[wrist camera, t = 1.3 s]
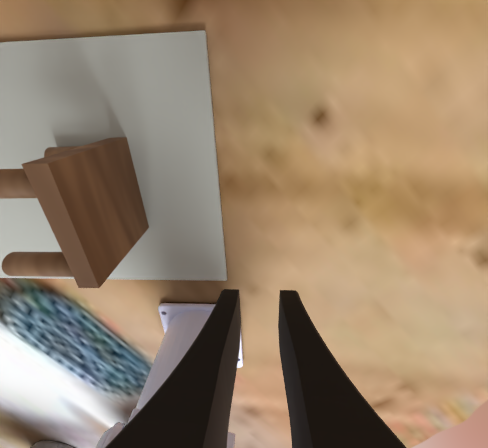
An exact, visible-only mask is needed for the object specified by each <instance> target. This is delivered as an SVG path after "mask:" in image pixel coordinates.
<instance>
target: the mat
mask: <svg viewBox="0 0 488 448" xmlns="http://www.w3.org/2000/svg"><path fill="white" fill-rule="evenodd" d="M117 137H127V141H128V145H129V149H130V153H131V157H132V161H133V165H134V169H135V173H136V177H137V181H138V185H139V189H140V193H141V197H142V201H143V205H144V209H145V213H146V217H147V221H148V225H149V228H148V230H147V231H146V232H145V233H144V234H143V236H142V237H141V238H140V239H139V240H138V242H137V243H136V244H135V245H134V246H133V248H132V249H131V250H130V251H129V253H128V254H127V255H126V256H125V257H124V259H123V260H122V261H121V262H120V263H119V265H118V266H117V267H116V268H115V269H114V271H113V272H112V273H111V274H110V276H109V277H108V278H107V279H134V280H210V281H227V268H226V256H225V245H224V233H223V222H222V210H221V199H220V187H219V175H218V164H217V152H216V141H215V129H214V118H213V106H212V95H211V83H210V72H209V60H208V48H207V37H206V31H205V30H203V31H186V32H169V33H152V34H135V35H118V36H100V37H83V38H66V39H49V40H32V41H15V42H0V169H23V167H22V165H21V164H23V163H27V162H30V161H33V160H37V159H40V158H43V157H44V152H45V150H46V149H47V148H48V147H71V146H84V145H87V144H90V143H94V142H97V141H100V140H104V139H107V138H117ZM11 252H62V250H61V248H60V246H59V244H58V242H57V240H56V238H55V235H54V233H53V231H52V229H51V227H50V225H49V223H48V220H47V218H46V216H45V214H44V212H43V210H42V207H41V205H40V203H39V201H38V199H37V198H12V199H0V278H57V279H75V278H74V277H43V276H8V275H6V274H5V273H4V272H3V270H2V261H3V259H4V258H5V256H6V255H8V254H9V253H11Z"/></svg>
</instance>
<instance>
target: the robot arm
mask: <svg viewBox="0 0 488 448" xmlns="http://www.w3.org/2000/svg"><path fill="white" fill-rule="evenodd" d="M158 310H159V314H160V317H161V321H162V324H163V328H164V332H165V335H164V338H163V340H162V343H161V345H160V348H159V350H158V353H157V355H156V358H155V360H154V363H153V365H152V368H151V370H150V373H149V375H148V378H147V381H146V383H145V386H144V388H143V391H142V393H141V396H140V398H139V401H138V403H137V406H136V408H134V409H133V411H132V413H131V416H130V418H129V421H128V423H127V425H126V426H125V424H123V423H119V422H118V423H116V424H115V425H114V426H113V427H111V428H110V429H108V430H107V431H105V432H104V434H103V435H102V437H101V438H100V440H99V442H98V444H97V446H96V448H234V445H235V434H234V433H231V432H228V427H229V417H230V409H231V402H232V396H233V389H234V383H235V377H236V370H237V368H240V367H242V366H243V353H242V337H241V315H240V298H239V290H228V289H224V290H223V291H222V292H221V294H220V297H219V299H218V301H217V303H216V304H181V303H161V304H160V305H159V307H158ZM164 311H165V312H164ZM278 328H279V346H280V356H281V363H282V370H283V376H284V383H285V390H286V396H287V403H288V410H289V417H290V425H291V436H292V448H406V447H405V446H404V444H403V443H402V442H401V441H400V440H399V439H398V438H397V436H396V435H395V434H394V433H393V432H392V431H391V430H390V428H389V427H388V426H387V425H386V424H385V423H384V422H383V420H382V419H381V418H380V417H379V416H378V415H377V413H376V412H375V411H374V410H373V409H372V407H371V406H370V405H369V404H368V402H367V401H366V400H365V399H364V397H363V396H362V395H361V394H360V392H359V391H358V390H357V388H356V387H355V386H354V384H353V383H352V382H351V381H350V379H349V378H348V377H347V375H346V374H345V372H344V371H343V370H342V368H341V367H340V365H339V364H338V362H337V361H336V360H335V358H334V357H333V355H332V354H331V352H330V351H329V349H328V347H327V346H326V344H325V343H324V341H323V340H322V338H321V336H320V335H319V333H318V331H317V330H316V328H315V326H314V324H313V323H312V321H311V319H310V317H309V315H308V314H307V312H306V310H305V308H304V306H303V304H302V301H301V299H300V297H299V294H298V293H297V292H296V291H292V290H280V301H279V323H278ZM124 426H125V427H124Z"/></svg>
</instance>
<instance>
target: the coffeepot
mask: <svg viewBox="0 0 488 448" xmlns="http://www.w3.org/2000/svg"><path fill="white" fill-rule="evenodd" d="M30 448H74V447H72V446H70V445H67V444H64V443H61V442H56V441H46V440H45V441H38V442H36V443H35V444H34V445H33V446H32V447H30Z"/></svg>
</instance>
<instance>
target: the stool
mask: <svg viewBox="0 0 488 448" xmlns="http://www.w3.org/2000/svg"><path fill="white" fill-rule="evenodd" d="M21 165H22V167H23V169H0V199H12V198H37V199H38V201H39V203H40V205H41V207H42V210H43V212H44V214H45V216H46V218H47V220H48V223H49V225H50V227H51V229H52V231H53V233H54V235H55V238H56V240H57V242H58V244H59V246H60V248H61V250H62V252H11V253H9V254H8V255H6V256H5V258H4V259H3V261H2V270H3V272H4V273H5V274H6V275H8V276H43V277H74V278H75V281H76V283H77V285H78V287H79V288H100V286H101V285H102V284H103V283H104V282H105V280H106V279H107V278H108V277H109V276H110V274H111V273H112V272H113V271H114V269H115V268H116V267H117V266H118V265H119V263H120V262H121V261H122V260H123V259H124V257H125V256H126V255H127V254H128V253H129V251H130V250H131V249H132V248H133V246H134V245H135V244H136V243H137V242H138V240H139V239H140V238H141V237H142V236H143V234H144V233H145V232H146V231H147V230H148V228H149V225H148V221H147V217H146V213H145V209H144V205H143V201H142V197H141V193H140V189H139V185H138V181H137V177H136V173H135V169H134V165H133V161H132V157H131V153H130V149H129V145H128V141H127V137H117V138H107V139H104V140H100V141H97V142H94V143H90V144H87V145H84V146H71V147H48V148H47V149H46V150H45V152H44V157H43V158H40V159H37V160H33V161H30V162H27V163H23V164H21Z"/></svg>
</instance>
